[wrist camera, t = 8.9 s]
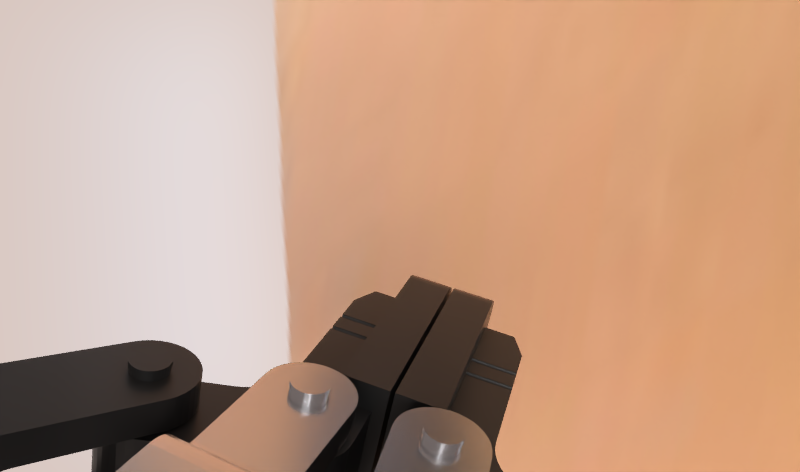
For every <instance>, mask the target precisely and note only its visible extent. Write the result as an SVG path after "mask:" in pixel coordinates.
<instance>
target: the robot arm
mask: <svg viewBox="0 0 800 472" xmlns="http://www.w3.org/2000/svg"><path fill="white" fill-rule="evenodd" d="M451 290H452V288H451V287H448V286H445V285H442V284H439V283H435V282H432V281H429V280H426V279H423V278H420V277H417V276H414V275H412V276H411V277H410V278H409V280H408V281H407V282H406V284H405V285H404V287H403V288H402V289H401V291H400V292H399V294H398V295H397V296H396V298H394V297H391V296H388V295H385V294H382V293H379V292H373V293H371V294H368V295H366V296H363V297H361V298H358V299H356V300H354V301H353V303H352V304H351V305H350V306H349V307H348V309H347V310H346V311H345V312H344V313H343V316H342V317H340V318H339V319H338V321H337V322H336V323H335V324H334V325H333V328H332V329H330V330H329V331H328V333H327V334H326V335H325V336H324V337H323V339H322V340H321V341H320V342H319V343H318V345H317V346H316V347H315V348H314V349H313V351H312V352H311V353H310V354H309V356H308V357H307V358H306V359H305V360H304V362H296V363H288V364H283V365H280V366H277V367H275V368H273V369H271V370H270V371H269V372H267V373H266V374H265V375H264V376H263V377H262V378H261V379H259V380H258V381H257V382H256V383H255V384H254V385H253V386H252V387H234V386H227V385H220V384H213V383H205V382H201V379H202V371H203V369H202V365H201V362H200V361H199V359H198V358H197V357H196V356H195V355H194V354H193V353H192V352H191V351H189V350H187V349H186V348H184V347H181V346H179V345H176V344H173V343H169V342H163V341H153V340H151V341H149V340H148V341H147V340H146V341H135V342H129V343H122V344H116V345H110V346H104V347H99V348H93V349H87V350H80V351H74V352H68V353H62V354H56V355H49V356H43V357H37V358H31V359H25V360H20V361H13V362H8V363H1V364H0V472H1V471H3V470H6V469H10V468H14V467H18V466H22V465H26V464H30V463H35V462H39V461H43V460H47V459H51V458H55V457H60V456H64V455H68V454H72V453H76V452H80V451H84V450H89V449H93V451H92V472H503V471H502V470H501V468H500V466H499V464H498V462H497V459H496V455H495V445H496V440H497V437H498V434H499V430H500V427H501V424H502V420H503V417H504V414H505V410H506V407H507V404H508V400H509V397H510V394H511V390H512V387H513V384H514V380H515V377H516V374H517V370H518V367H519V364H520V360H521V357H522V355H521V353H520V350H519V348H518V345H517V343H516V340H515V338H514V337H512V336H509V335H506V334H503V333H500V332H497V331H494V330H491V329H488V328H487V326H488V322H489V319H490V315H491V312H492V308H493V303H494V301H492V300H489V299H485V298H482V297H479V296H476V295H473V294H470V293H467V292H464V291H461V290H458V289H453V291H452V293H451Z"/></svg>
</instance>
